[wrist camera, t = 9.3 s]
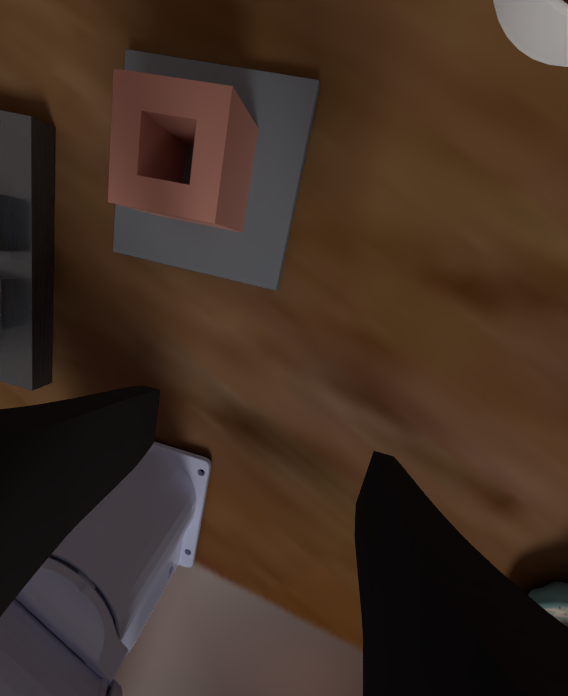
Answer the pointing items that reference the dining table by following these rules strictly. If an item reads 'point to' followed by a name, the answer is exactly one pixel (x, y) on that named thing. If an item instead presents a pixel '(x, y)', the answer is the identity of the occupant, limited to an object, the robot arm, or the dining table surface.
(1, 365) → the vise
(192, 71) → the mat
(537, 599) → the stuffed animal
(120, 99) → the collar block
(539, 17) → the hook
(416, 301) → the dining table surface
